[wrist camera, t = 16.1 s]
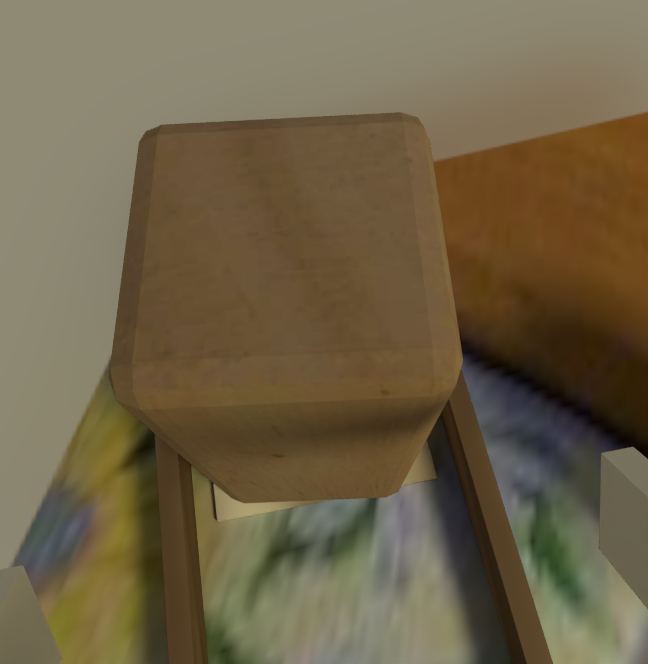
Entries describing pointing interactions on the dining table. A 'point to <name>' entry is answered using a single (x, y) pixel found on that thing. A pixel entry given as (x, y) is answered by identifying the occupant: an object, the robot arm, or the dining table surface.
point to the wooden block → (288, 303)
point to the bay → (469, 460)
